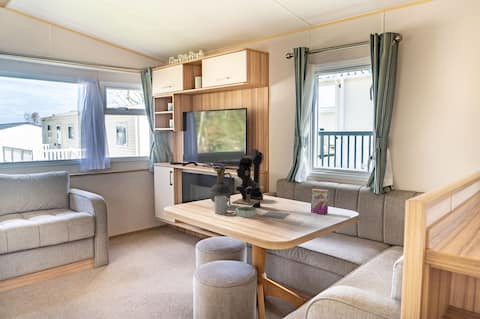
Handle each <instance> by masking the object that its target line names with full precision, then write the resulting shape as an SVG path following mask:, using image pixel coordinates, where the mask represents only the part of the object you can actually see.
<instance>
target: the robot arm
mask: <svg viewBox="0 0 480 319" xmlns="http://www.w3.org/2000/svg"><path fill="white" fill-rule="evenodd" d="M264 158H265V156H264V154H263V152H261V151H260V150H259V149H251V150H250V152H249V153H248V154H247V155H246V156H242V157H241V158H240V160H239V165H238V168H239V169H238V171H237V173H236V175H237V177H238V178H239V179H240V180H241V184H240V185H237V186H236V187H235V191H237V192H239V193H240V195H241V198H242V197H243V199H244V200H246V195H250V199H253V200H260V202H258V203H256V204H254V205H252V206H251V207H254V208H255V209H260V208H262V207H263V206H262V205H261V201H264V195H263V194H264V193H263V192H261V187H260V186H261V185H260V183H261V182H260V180H261V178H260V177H261V165H262V164H263V162H264V160H265V159H264ZM252 167H253V178H252V177H251V176H252V172H251V171H252V170H251V169H252Z"/></svg>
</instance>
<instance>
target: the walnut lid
mask: <svg viewBox="0 0 480 319" xmlns="http://www.w3.org/2000/svg"><path fill="white" fill-rule="evenodd" d="M258 202H260V203H261V201H260V200H253V199H250V195H246V200H244V199H243V197H242V196H241V198H238V199H236V200H234V201H232V202H231V205H232V204H234V205H239V206H240V205H241V206H247V207H252V206H253V205H254V204H256V203H258Z"/></svg>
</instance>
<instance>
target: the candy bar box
mask: <svg viewBox="0 0 480 319" xmlns="http://www.w3.org/2000/svg"><path fill="white" fill-rule="evenodd" d="M310 200H311V201H310V203H311V204H310V214H315V213H318V215H326V214H327V215H328V213H329V189H320V188H312V189H311V199H310Z"/></svg>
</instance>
